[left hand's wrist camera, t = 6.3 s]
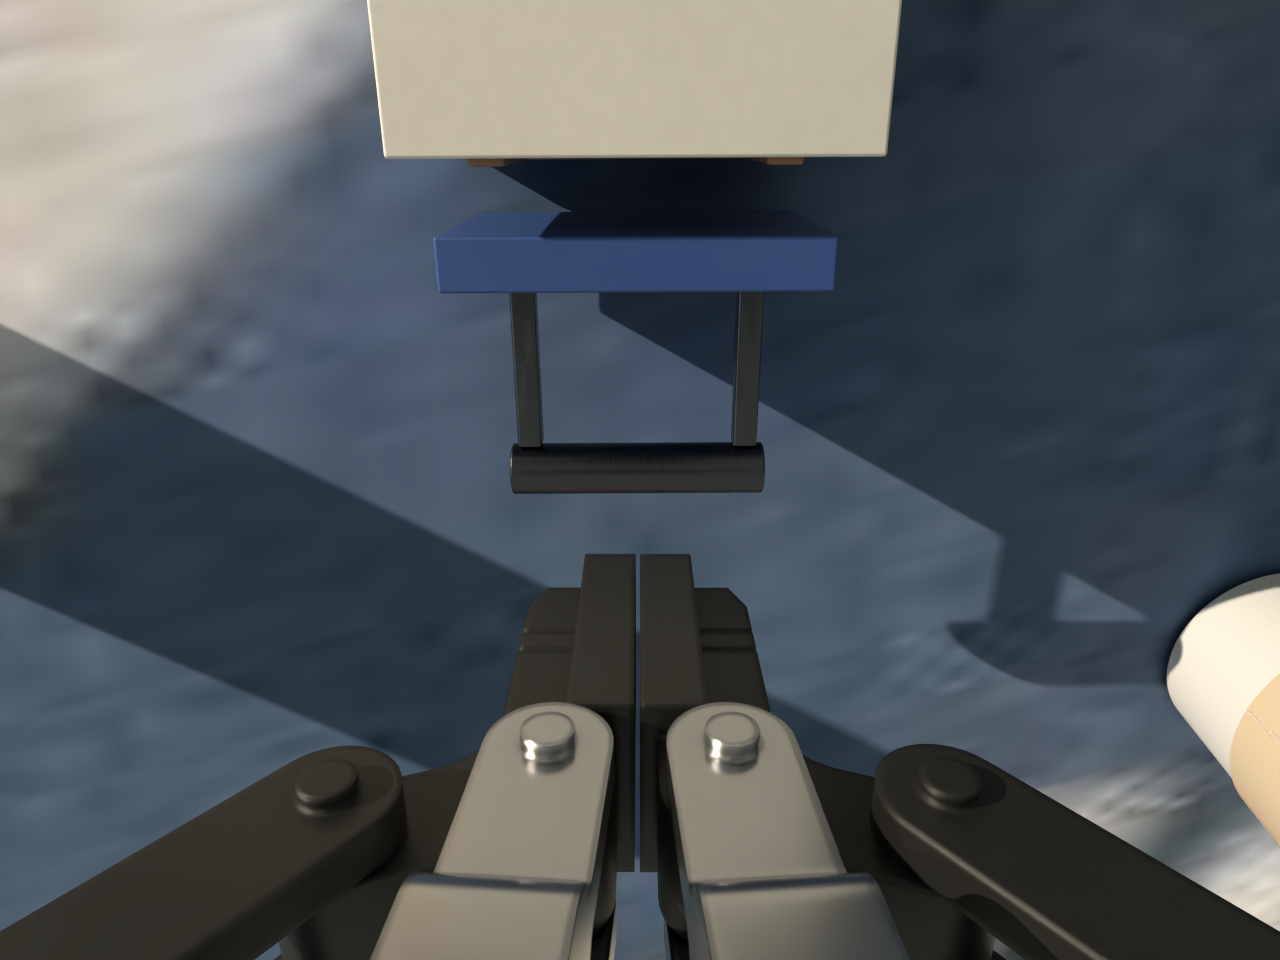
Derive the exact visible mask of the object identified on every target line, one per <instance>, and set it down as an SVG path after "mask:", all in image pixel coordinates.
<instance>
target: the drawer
mask: <svg viewBox="0 0 1280 960" xmlns="http://www.w3.org/2000/svg"><path fill="white" fill-rule="evenodd" d="M578 159H747V160H751V161H755V162H759V163H763V164H767V165H801V164H803V162H804V157H691V158H469V159H467V163H468V166H471V167H497V166H506V165H510V164H513V163H517V162H521V161H525V160H578ZM838 242H839V237H838V236H837V235H836V234H834V233H832V232H830V231H828V230H826V229H824V228H822V227H820V226H818V225H816V224H814V223H812V222H810V221H808V220H806V219H804V218H802V217H800V216H799V215H797V214H795V213H793V212H791V211H687V212H482V213H480V214H478V215H476V216H475V217H473V218H471V219H469V220H467V221H465V222H463V223H461V224H459V225H457V226H456V227H454V228H452V229H450V230H448V231H446V232H444V233H442V234H440V235H438V236H437V237H435V238H434V251H435V262H436V273H437V284H438V291H439V293H509V298H510V315H511V331H512V347H513V364H514V380H515V396H516V413H517V429H518V443H515V444H513V446H512V449H511V457H510V478H511V487H512V490H513V493H515V494H571V493H747V492H762V490H763V486H764V478H765V457H764V449H763V445H762V443H761V442H756V438H757V418H758V398H759V378H760V358H761V338H762V318H763V298H764V292H802V291H834V289H835V279H836V267H837V254H838ZM602 292H737V295H736V321H735V348H734V374H733V400H732V426H731V440H732V442H690V443H543V440H544V436H543V416H542V396H541V375H540V355H539V335H538V315H537V294H536V293H602Z"/></svg>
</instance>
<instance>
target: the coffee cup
mask: <svg viewBox="0 0 1280 960" xmlns="http://www.w3.org/2000/svg"><path fill="white" fill-rule="evenodd" d="M1167 686H1168V691H1169V694H1170V697H1171V699H1172V701H1173V703H1174V705H1175V707H1176V708H1177V709H1178V711H1179V712H1180V713H1181V715H1182V716H1183V717H1184V718H1185V720H1186V721H1187V722H1188V723H1189V725H1190V726H1191V727H1192V728H1193V730H1194V731H1195V732H1196V733H1197V735H1198V736H1199V737H1200V738H1201V740H1202V741H1203V742H1204V744H1205V745H1206V746H1207V747H1208V749H1209V750H1210V751H1211V752H1212V754H1213V755H1214V756H1215V757H1216V759H1217V760H1218V761H1219V762H1220V764H1221V765H1222V766H1223V768H1224V769H1225V770H1226V771H1227V773H1228V774H1229V775H1230V776H1231V778H1232V780H1233V783H1234V785H1235V788H1236V790H1237V791H1238V793H1239V795H1240V796H1241V798H1242V799H1243V800H1244V802H1245V803H1246V804H1247V805H1248V807H1249V808H1250V809H1251V811H1252V812H1253V813H1254V814H1255V816H1256V817H1257V818H1258V819H1259V821H1260V822H1261V823H1262V825H1263V826H1264V827H1265V828H1266V830H1267V831H1268V832H1269V834H1270V835H1271V836H1272V837H1273V839H1274V840H1275V841H1276V842H1277V844H1278V845H1279V846H1280V573H1279V574H1273V575H1268V576H1264V577H1260V578H1257V579H1254V580H1251V581H1248V582H1246V583H1243V584H1241V585H1239V586H1237V587H1235V588H1233V589H1231V590H1229V591H1227V592H1225V593H1224V594H1222V595H1221V596H1219V597H1218V598H1216V599H1215V600H1213V601H1212V602H1211V603H1209V604H1208V605H1207V606H1206V607H1204V608H1203V609H1202V610H1201V611H1200V612H1199V613H1198V614H1197V615H1196V616H1195V617H1194V618H1193V619H1192V620H1191V621H1190V622H1189V624H1188V625H1187V626H1186V627H1185V629H1184V630H1183V632H1182V633H1181V635H1180V636H1179V638H1178V640H1177V641H1176V643H1175V645H1174V648H1173V650H1172V652H1171V655H1170V659H1169V663H1168V668H1167Z"/></svg>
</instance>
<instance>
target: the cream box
mask: <svg viewBox="0 0 1280 960" xmlns="http://www.w3.org/2000/svg"><path fill="white" fill-rule="evenodd" d="M367 3H368V12H369V21H370V31H371V40H372V49H373V58H374V67H375V76H376V85H377V95H378V104H379V113H380V122H381V131H382V140H383V150H384V156H385V158H387V159H469V158H691V157H883V156H886V154H887V149H888V139H889V128H890V118H891V108H892V98H893V87H894V77H895V67H896V57H897V47H898V36H899V26H900V16H901V6H902V0H367Z"/></svg>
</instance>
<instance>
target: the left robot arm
mask: <svg viewBox="0 0 1280 960" xmlns="http://www.w3.org/2000/svg"><path fill="white" fill-rule="evenodd" d="M635 724H636V554H586V555H585V560H584V568H583V575H582V583H581V588H547V589H546V590H545V591H544V592H543V593H542V594H541V595H540V596H539V597H538V598H537V599H536V600H535V601H534V602H533V603H532V604H531V605H530V606H529V608H528V612H527V616H526V620H525V625H524V633H522V637H521V641H520V646H519V651H518V654H517V658H516V662H515V667H514V671H513V675H512V679H511V684H510V688H509V692H508V696H507V700H506V705H505V709H504V713H503V717H502V718H500V719H499V720H498V721H497V722H495V723H494V724H493V725H492V726H491V728H490V729H489V730H488V731H487V733H486V735H485V737H484V739H483V742H482V745H481V747H480V749H479V750H478V751H476V752H475V753H473V754H472V755H470V756H468V757H466V758H464V759H462V760H460V761H458V762H455V763H453V764H450V765H447V766H444V767H440V768H437V769H433V770H428V771H424V772H420V773H415V774H411V775H407V776H402V775H401V772H400V769H399V767H398V765H397V764H396V762H395V761H394V760H393V759H392V758H391V757H389V756H388V755H387V754H385V753H383V752H381V751H379V750H375V749H372V748H368V747H362V746H340V747H333V748H327V749H323V750H319V751H316V752H312V753H310V754H307V755H305V756H302V757H300V758H298V759H296V760H294V761H292V762H290V763H288V764H287V765H285V766H283V767H282V768H280V769H278V770H276V771H275V772H273V773H271V774H270V775H268V776H266V777H264V778H263V779H261V780H259V781H258V782H256V783H254V784H252V785H251V786H249V787H247V788H246V789H244V790H242V791H240V792H239V793H237V794H235V795H234V796H232V797H230V798H228V799H227V800H225V801H223V802H222V803H220V804H218V805H216V806H215V807H213V808H211V809H210V810H208V811H206V812H204V813H203V814H201V815H199V816H198V817H196V818H194V819H192V820H191V821H189V822H187V823H186V824H184V825H182V826H180V827H179V828H177V829H175V830H174V831H172V832H170V833H168V834H167V835H165V836H163V837H162V838H160V839H158V840H156V841H155V842H153V843H151V844H150V845H148V846H146V847H144V848H143V849H141V850H139V851H138V852H136V853H134V854H132V855H131V856H129V857H127V858H126V859H124V860H122V861H120V862H119V863H117V864H115V865H114V866H112V867H110V868H108V869H107V870H105V871H103V872H102V873H100V874H98V875H96V876H95V877H93V878H91V879H90V880H88V881H86V882H84V883H83V884H81V885H79V886H78V887H76V888H74V889H72V890H71V891H69V892H67V893H66V894H64V895H62V896H60V897H59V898H57V899H55V900H54V901H52V902H50V903H48V904H47V905H45V906H43V907H42V908H40V909H38V910H36V911H35V912H33V913H31V914H30V915H28V916H26V917H24V918H23V919H21V920H19V921H18V922H16V923H14V924H12V925H11V926H9V927H7V928H6V929H4V930H2V931H0V960H255V959H256V958H257V957H259V956H260V955H261V954H263V953H264V952H265V951H267V950H268V949H269V948H271V947H272V946H273V945H275V944H276V943H277V942H279V945H280V950H281V955H280V956H278V957H277V958H276V959H274V960H613V959H614V951H615V942H616V875H617V872H634V853H635ZM640 872H658V900H659V907H660V910H661V912H662V915H663V917H664V942H665V951H666V959H667V960H1006V959H1004V958H1003V957H1002V956H1000V955H999V954H998V953H996V952H995V951H994V950H993V947H994V942H995V938H997V939H998V940H1000V941H1001V942H1003V943H1004V944H1005V945H1007V946H1008V947H1009V948H1011V949H1012V950H1013V951H1015V952H1016V953H1017V954H1019V955H1020V956H1021V957H1023V958H1024V959H1025V960H1280V931H1278V930H1276V929H1274V928H1273V927H1271V926H1269V925H1268V924H1266V923H1264V922H1262V921H1261V920H1259V919H1257V918H1256V917H1254V916H1252V915H1250V914H1249V913H1247V912H1245V911H1244V910H1242V909H1240V908H1238V907H1237V906H1235V905H1233V904H1232V903H1230V902H1228V901H1226V900H1225V899H1223V898H1221V897H1220V896H1218V895H1216V894H1214V893H1213V892H1211V891H1209V890H1208V889H1206V888H1204V887H1202V886H1201V885H1199V884H1197V883H1196V882H1194V881H1192V880H1190V879H1189V878H1187V877H1185V876H1184V875H1182V874H1180V873H1178V872H1177V871H1175V870H1173V869H1172V868H1170V867H1168V866H1166V865H1165V864H1163V863H1161V862H1160V861H1158V860H1156V859H1154V858H1153V857H1151V856H1149V855H1148V854H1146V853H1144V852H1142V851H1141V850H1139V849H1137V848H1136V847H1134V846H1132V845H1130V844H1129V843H1127V842H1125V841H1124V840H1122V839H1120V838H1118V837H1117V836H1115V835H1113V834H1112V833H1110V832H1108V831H1106V830H1105V829H1103V828H1101V827H1100V826H1098V825H1096V824H1094V823H1093V822H1091V821H1089V820H1088V819H1086V818H1084V817H1082V816H1081V815H1079V814H1077V813H1076V812H1074V811H1072V810H1070V809H1069V808H1067V807H1065V806H1064V805H1062V804H1060V803H1058V802H1057V801H1055V800H1053V799H1052V798H1050V797H1048V796H1046V795H1045V794H1043V793H1041V792H1040V791H1038V790H1036V789H1034V788H1033V787H1031V786H1029V785H1028V784H1026V783H1024V782H1022V781H1021V780H1019V779H1017V778H1015V777H1014V776H1012V775H1010V774H1009V773H1007V772H1005V771H1003V770H1002V769H1000V768H998V767H997V766H995V765H993V764H991V763H990V762H988V761H986V760H984V759H982V758H980V757H979V756H977V755H974V754H972V753H969V752H967V751H964V750H961V749H957V748H954V747H949V746H944V745H936V744H916V745H910V746H905V747H902V748H899V749H896V750H894V751H892V752H890V753H889V754H888V755H886V756H885V757H884V758H883V759H882V760H881V762H880V763H879V764H878V767H877V769H876V772H875V778H874V777H870V776H866V775H861V774H857V773H853V772H848V771H844V770H840V769H836V768H832V767H829V766H825V765H823V764H820V763H818V762H815V761H813V760H811V759H809V758H807V757H805V756H803V755H802V753H801V750H800V747H799V745H798V742H797V739H796V737H795V735H794V733H793V731H792V730H791V729H790V728H789V726H788V725H787V724H786V723H785V722H783V721H782V720H781V719H780V718H778V717H777V716H775V715H774V714H772V713H771V712H770V707H769V703H768V698H767V694H766V690H765V685H764V681H763V676H762V672H761V668H760V663H759V659H758V654H757V651H756V646H755V641H754V637H753V633H752V628H751V624H750V619H749V615H748V610H747V607H746V606H745V605H744V604H743V603H742V602H741V601H740V600H739V599H738V598H737V597H736V596H735V595H734V594H733V593H732V592H731V591H730V590H729V589H728V588H694V581H693V572H692V564H691V556H690V554H640Z"/></svg>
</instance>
